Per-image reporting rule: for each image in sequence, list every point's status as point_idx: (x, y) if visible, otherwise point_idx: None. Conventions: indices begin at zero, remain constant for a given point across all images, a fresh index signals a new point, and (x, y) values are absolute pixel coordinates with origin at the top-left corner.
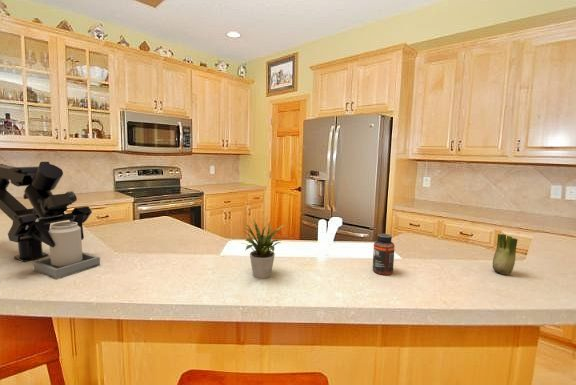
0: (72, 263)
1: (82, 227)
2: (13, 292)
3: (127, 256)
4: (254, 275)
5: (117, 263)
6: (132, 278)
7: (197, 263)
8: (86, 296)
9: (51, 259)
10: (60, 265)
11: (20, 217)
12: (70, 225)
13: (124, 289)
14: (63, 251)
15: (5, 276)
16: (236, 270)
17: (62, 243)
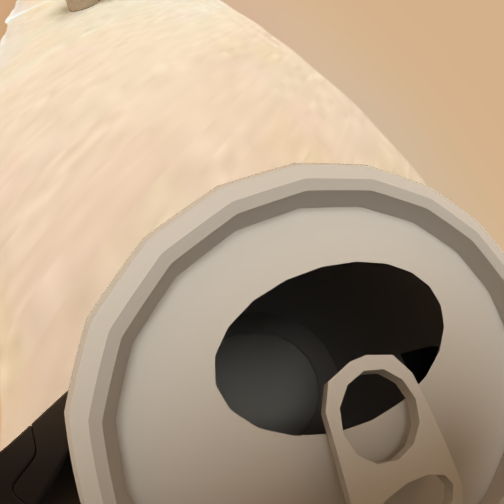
0: (264, 312)
1: (30, 426)
2: None
3: (12, 280)
4: (95, 1)
5: (88, 233)
6: (182, 86)
7: (41, 70)
8: (322, 93)
9: (354, 392)
10: (318, 338)
11: None
12: (345, 177)
13: (243, 61)
14: (332, 302)
15: None
16: (72, 22)
17: (363, 284)
